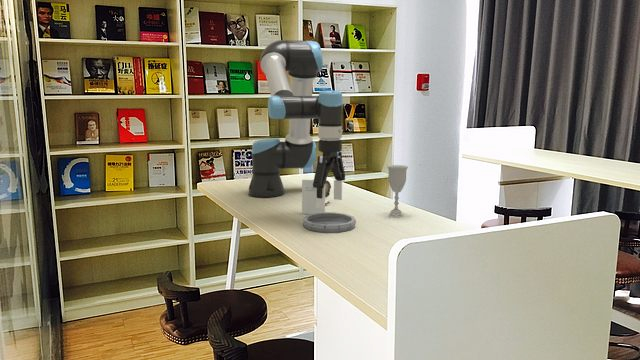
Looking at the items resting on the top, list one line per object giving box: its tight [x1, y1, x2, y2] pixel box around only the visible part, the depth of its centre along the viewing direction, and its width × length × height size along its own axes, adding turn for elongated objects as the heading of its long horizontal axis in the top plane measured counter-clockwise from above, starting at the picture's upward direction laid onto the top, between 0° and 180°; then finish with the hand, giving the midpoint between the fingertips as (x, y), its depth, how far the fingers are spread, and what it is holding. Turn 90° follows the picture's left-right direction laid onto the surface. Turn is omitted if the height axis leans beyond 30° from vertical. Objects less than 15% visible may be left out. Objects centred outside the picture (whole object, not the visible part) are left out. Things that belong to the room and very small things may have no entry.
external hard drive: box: [301, 178, 326, 215], centre depth 191 cm, size 2×8×12 cm, turn 83°
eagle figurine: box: [325, 179, 332, 205], centre depth 207 cm, size 8×7×9 cm
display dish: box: [302, 212, 357, 234], centre depth 176 cm, size 17×17×2 cm
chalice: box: [387, 164, 409, 219], centre depth 187 cm, size 7×7×18 cm
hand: (329, 203), depth 175 cm, fingers open, 13 cm apart
